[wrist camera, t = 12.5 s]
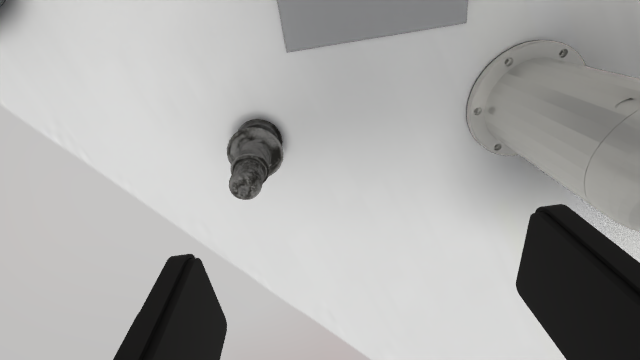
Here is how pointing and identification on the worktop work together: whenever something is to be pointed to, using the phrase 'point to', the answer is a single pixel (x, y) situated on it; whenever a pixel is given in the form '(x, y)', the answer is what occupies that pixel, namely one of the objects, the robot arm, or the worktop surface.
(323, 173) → the worktop surface
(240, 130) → the dark stone chess piece
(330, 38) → the rubber mat
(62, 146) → the worktop surface
